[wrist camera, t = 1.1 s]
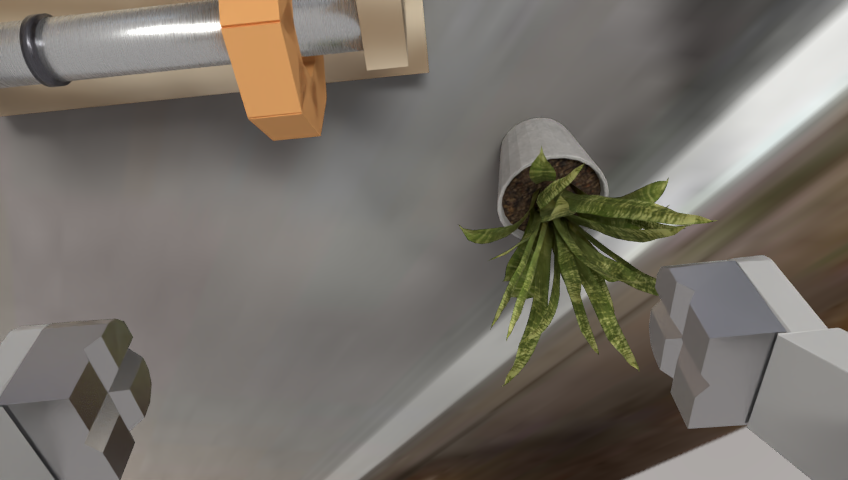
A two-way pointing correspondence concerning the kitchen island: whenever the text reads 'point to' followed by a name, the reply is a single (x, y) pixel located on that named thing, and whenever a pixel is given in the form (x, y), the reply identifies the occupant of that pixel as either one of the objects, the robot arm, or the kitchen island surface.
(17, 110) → the pipe stand
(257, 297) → the kitchen island surface
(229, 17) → the orange faceted ring
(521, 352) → the house plant
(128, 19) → the steel pipe
